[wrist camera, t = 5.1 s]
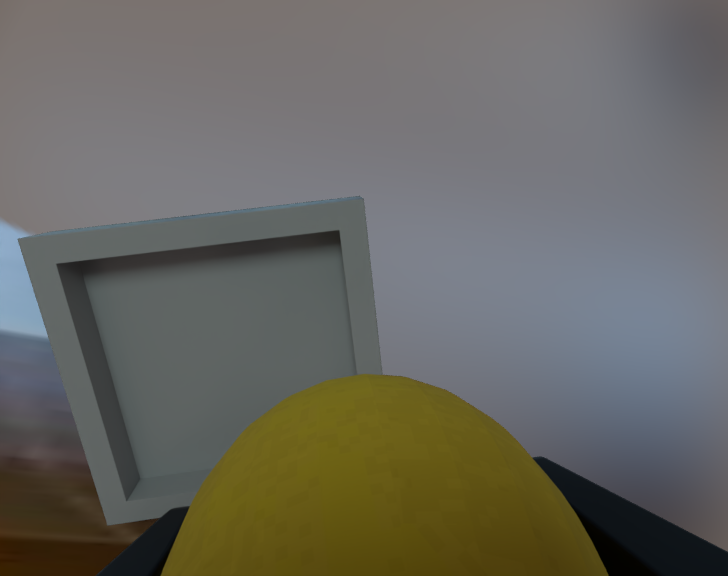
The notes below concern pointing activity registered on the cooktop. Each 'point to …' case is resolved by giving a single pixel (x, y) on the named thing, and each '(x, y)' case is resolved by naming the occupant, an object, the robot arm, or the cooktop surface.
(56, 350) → the dish
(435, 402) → the lemon
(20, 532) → the cooktop surface
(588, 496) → the robot arm
